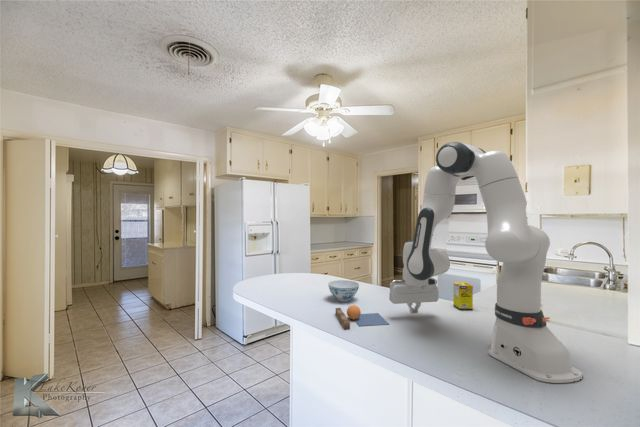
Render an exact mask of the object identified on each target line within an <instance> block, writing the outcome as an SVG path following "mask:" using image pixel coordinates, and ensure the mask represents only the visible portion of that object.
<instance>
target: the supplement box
mask: <svg viewBox="0 0 640 427" xmlns="http://www.w3.org/2000/svg"><path fill="white" fill-rule="evenodd" d="M473 288H474V286H473V285H472V284H470V283H468V282H458V281H457V282H455V281H454V282H453V307H454V308H456V309H457V310H459V311H473V305H474V304H473V302H474V301H473V299H474V297H473V295H474V292H473V290H474V289H473Z"/></svg>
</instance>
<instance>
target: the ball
mask: <svg viewBox="0 0 640 427" xmlns="http://www.w3.org/2000/svg"><path fill="white" fill-rule="evenodd" d="M360 314H362V313H361V308H360V307H359V306H358V305H356V304H352V305H350V306H348V308H347V309H346V316H348V317H347V318H349V319H350V320H354V321H355V319H358V318H359V317H360Z"/></svg>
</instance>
